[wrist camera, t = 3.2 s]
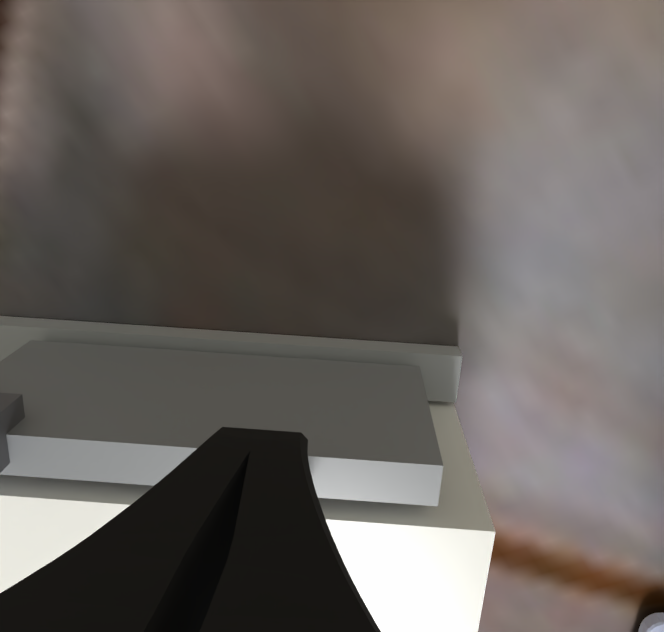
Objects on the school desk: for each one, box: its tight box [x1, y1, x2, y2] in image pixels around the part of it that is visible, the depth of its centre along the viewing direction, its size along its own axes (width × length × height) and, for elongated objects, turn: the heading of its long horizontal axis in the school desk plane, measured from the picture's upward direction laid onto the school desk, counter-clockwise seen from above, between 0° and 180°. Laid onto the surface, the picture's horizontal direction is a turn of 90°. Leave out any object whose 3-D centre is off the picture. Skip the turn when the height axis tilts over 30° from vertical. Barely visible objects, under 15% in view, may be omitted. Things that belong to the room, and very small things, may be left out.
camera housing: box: [0, 316, 495, 632], centre depth 14 cm, size 20×9×5 cm, turn 87°
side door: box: [0, 340, 443, 506], centre depth 10 cm, size 9×1×7 cm, turn 87°
